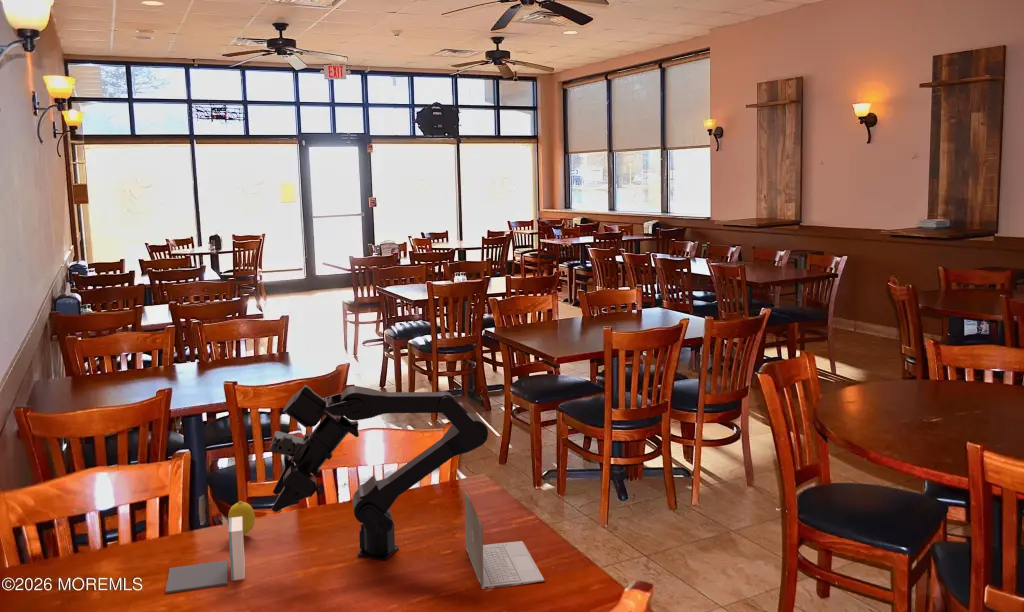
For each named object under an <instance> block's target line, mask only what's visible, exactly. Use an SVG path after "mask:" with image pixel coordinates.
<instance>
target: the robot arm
mask: <svg viewBox="0 0 1024 612" xmlns="http://www.w3.org/2000/svg"><path fill="white" fill-rule="evenodd" d="M282 412H283V413H284V414H285V415H287V416H288V417H290V418H291V419H293V420H294V421H295V422H297V423H299V425H301V426H303V427H304V428H305V429H306V428H312V427H315V426H316V425H317V426H316V427H315V428H314V429H313V431H312V432H311V433H310V432H309V433H306V434H304V436H303V437H299V436H296V435H294V434H290V433H287V432H283V431H277V430H275V431H274V434H273V437H272V440H271V443H270V445H269V447H270V448H269V451H270V453H272V454H276V455H277V454H280V455H283V461H284V463H283V464H284V468H283V470H282V471H281V474H280V476H279V478H278V480H277V482H276V484H275V486H274V488H273V490H272V493H273V494H274V495H276V496H278V497H277V498H276V500H275V502H274V504H273V505H272V508H271V510H272V511H273V512H275V513H276V512H279V511H280V510H283V509H285V508H286V507H289V506H290V505H293V504H295V503H296V502H297V503H298V502H299V501H301V500H304V499H305V498H306V499H308V498H312V496H314V494H315V493H316V492H317V490H318V486H317V476H318V475H319V474H320V469H321V468H322V466H323V465H324V463H325V462H326V461H327V460H329V461H330V460H331V459H332V457H333V453H334V451H335V450H336V449H337V448H338V446H339V445H340V444H341V442H342V441H343V440H344V439H345V437H346V436H347V435H348V434H349V433H350V434H351V435H352V436H353V437H355V438H358V437H359V436H360V434H359V421H362V420H367V419H372V418H375V417H378V416H381V415H385V414H443V416H445V417H446V419H447V420H448V421H449V422H450V423H451V425H450V426H449V427H448V429H447V430H446V432H445V433H444V435H443V436H442V437H441V438H440V439H438V441H436V442H435V443H434V444H432V445H431V446H429V447H428V448H426V450H424V451H422V452H421V453H419V454H418V455H416V456H415V457H414V458H413V459H411V460H410V461H408V462H407V463H406V464H404V465H403V466H401V467H400V468H399V469H397V470H396V471H394V472H393V473H391V474H390V475H389V476H387V477H386V478H383V479H378V480H377V478H376V476H375V475H372V476H371V477H370V478H368V479H367V481H365V482H364V483H362V484H360V485H357V490H356V491H355V492H354V494H353V496H352V499H351V501H352V507H353V513H354V515H353V516H354V517H355V519H356V520H357V521H358V522H359V523H361V524H360V530H359V531H358V536H359V550H360V551H358V552H357V557H361V558H365V559H366V558H367V559H372V560H379V561H386V560H387V559H388V558H389V557H391V556H392V555H393V553H395V552H396V551H397V550H399V547H400V546H399V544H398V545H396V541H395V540H396V539H395V537H396V535H395V522H394V519H393V515H392V511H391V507H392V505H393V504H394V503H395V502H396V500H397V499H398V498H399V497H400V496H401V495H402V494H404V493H405V492H406V491H407V490H409V489H411V488H412V487H414V486H415V485H416V484H418V483H419V482H420V481H422V480H423V479H424V478H426V477H427V476H429V475H431V474H432V473H433V472H434V471H435V470H437V469H439V468H440V467H441V466H443V464H445V463H447V462H448V461H450V460H451V459H452V458H454V457H457V456H459V455H463V454H467V453H471V452H472V451H473V450H476V449H477V448H480V447H481V446H483V445H484V444H485V443H486V442H487V440H488V436H489V431H488V428H487V425H486V424H485V423H484V422H483V420H482V419H481V418H480V416H478V415H477V414H475V413H474V412H473V413H470V412H468V411H467V410H466V409H465V408H464V407H463V406H462V405H461V404H460V403H459V401H457V400H456V399H455V398H454V396H453V395H452V393H451V392H449V391H446V390H441V391H436V392H435V391H429V392H428V391H416V392H415V391H414V392H413V391H411V392H410V391H409V392H408V391H404V392H403V391H401V392H400V391H399V392H398V391H397V392H396V391H395V392H394V391H393V392H392V391H391V392H388V391H387V392H386V391H381V390H377V389H374V388H369V387H364V386H359V385H352V386H348V387H346V388H345V389H344V390H343V391H342V392H341V393H337V394H333V395H329V396H326V397H324V398H323V397H322V396H321V395H319V394H318V393H317V392H315V391H314V390H313V389H312V388H311V387H310V386H309V385H307V384H304V385H303V387H302V388H300V389H299V390H298V391H296V393H294V394H293V395H292V396H291V397H290V398H289V399H288V401H287V402H286V404H285V406H284V408H283V409H282Z"/></svg>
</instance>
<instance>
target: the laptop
mask: <svg viewBox="0 0 1024 612" xmlns="http://www.w3.org/2000/svg"><path fill="white" fill-rule="evenodd" d="M464 501H465V502H464V503H465V505H464V508H465V510H464V511H465V512H464V514H465V516H464V517H465V520H464V521H465V529H464V530H465V549H466V552H467V555H468V557H469V559H470V562H471V564H472V568H473V570H474V572H475V575H476V578H477V580H478V582H479V583H480V587H481V589H482V590H486V589H494V588H498V587H499V586H501V587H502V588H503V587H506V588H507V586H508V585H509V587H515V586H519V585H529V584H533V583H534V584H535V583H539V582H545V578H544V577H543V575H542V573H541V571H540V570H539V568H538V566H537V564H536V562H535V561H534V559H533V557H532V555H531V554H530V552H529V549H527V546H526V544H525V542H523V540H519V541H517V540H516V541H510V542H509V541H508V542H500V543H491V544H490V543H489V544H484V534H483V533H484V526H483V524H482V522H481V519H480V517H479V515H478V514H477V511H476V509H475V506H474V504H473V503H472V501H471V498H470V497H469V494H468V493H467V491H465V492H464Z"/></svg>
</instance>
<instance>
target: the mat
mask: <svg viewBox="0 0 1024 612" xmlns="http://www.w3.org/2000/svg"><path fill="white" fill-rule="evenodd" d="M228 571H229V560H228V559H227V560H226V559H225V560H220V561H214V562H213V561H211V562H204V563H197V564H190V565H189V564H188V565H183V566H176V567H175V566H174V567H169V571H168V576H167V581H166V586H165V593H164V594H171V593H178V592H184V591H185V592H187V591H193V590H199V589H206V588H213V587H214V588H215V587H221V586H227V585H228V575H229V574H228V573H229V572H228Z"/></svg>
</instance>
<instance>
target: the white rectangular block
mask: <svg viewBox="0 0 1024 612" xmlns="http://www.w3.org/2000/svg"><path fill="white" fill-rule="evenodd" d="M244 540H245V539H244V536H243V520H242V517H233V518H229V525H228V545H229V546H228V547H229V560H230V561H229V563H230V565H229V566H230V577H231V579H230V580H231V581H233V582H234V581H241V580H245V579H246V568H245V567H246V564H245V563H246V562H245V561H246V560H245V559H246V558H245V545H244V544H245V543H244V542H245V541H244Z"/></svg>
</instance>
